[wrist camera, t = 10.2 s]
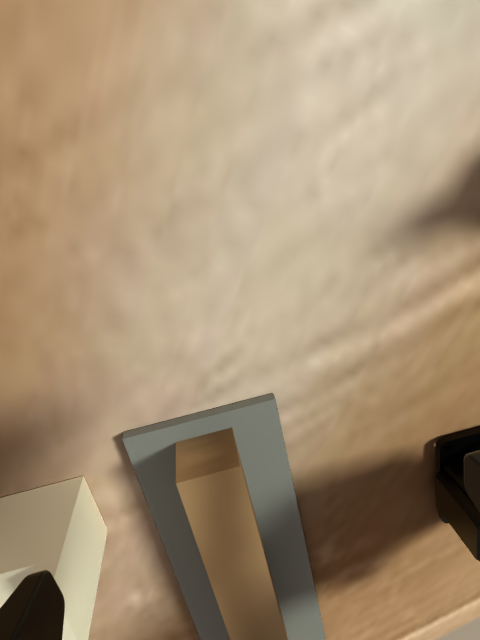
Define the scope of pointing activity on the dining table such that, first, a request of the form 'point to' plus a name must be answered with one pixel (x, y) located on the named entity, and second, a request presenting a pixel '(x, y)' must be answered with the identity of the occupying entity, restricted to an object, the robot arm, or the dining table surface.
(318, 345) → the dining table surface
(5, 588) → the post
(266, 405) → the mat
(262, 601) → the rail
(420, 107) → the dining table surface
